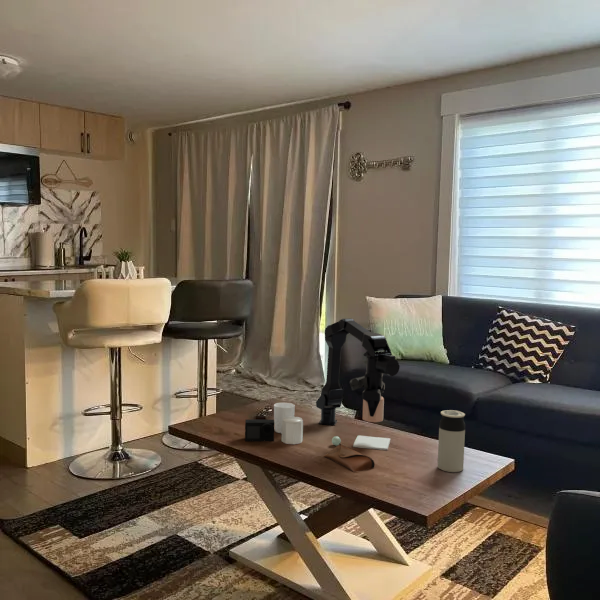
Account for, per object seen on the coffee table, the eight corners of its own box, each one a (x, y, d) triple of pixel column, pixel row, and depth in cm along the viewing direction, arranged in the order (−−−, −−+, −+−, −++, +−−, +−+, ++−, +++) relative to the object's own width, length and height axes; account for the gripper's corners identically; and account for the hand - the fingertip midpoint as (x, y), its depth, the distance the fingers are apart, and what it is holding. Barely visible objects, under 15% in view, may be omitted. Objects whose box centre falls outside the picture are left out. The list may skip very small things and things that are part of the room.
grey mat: (357, 437, 224) (357, 435, 224) (390, 440, 222) (390, 438, 222) (353, 446, 213) (353, 445, 213) (387, 450, 210) (387, 448, 210)
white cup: (285, 435, 224) (286, 408, 223) (269, 431, 229) (269, 405, 228) (298, 430, 231) (298, 404, 230) (282, 426, 235) (282, 401, 234)
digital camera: (244, 442, 215) (245, 423, 214) (244, 438, 220) (245, 419, 220) (274, 442, 216) (274, 423, 215) (273, 437, 221) (273, 419, 221)
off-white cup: (285, 437, 222) (285, 415, 221) (303, 439, 220) (304, 417, 220) (280, 443, 215) (280, 420, 214) (299, 444, 213) (299, 422, 213)
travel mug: (438, 472, 190) (441, 415, 189) (436, 463, 198) (438, 409, 197) (464, 473, 189) (467, 417, 188) (461, 465, 197) (464, 410, 196)
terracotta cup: (364, 415, 221) (364, 394, 220) (383, 417, 219) (384, 395, 219) (361, 421, 214) (362, 398, 213) (381, 422, 212) (382, 400, 212)
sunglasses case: (320, 455, 202) (328, 437, 204) (334, 463, 206) (342, 445, 208) (354, 472, 188) (363, 452, 189) (369, 480, 191) (377, 460, 193)
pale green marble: (332, 443, 216) (332, 434, 216) (341, 444, 215) (341, 435, 215) (330, 446, 213) (331, 437, 213) (339, 447, 212) (340, 438, 212)
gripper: (355, 364, 226) (354, 405, 227) (347, 373, 208) (346, 418, 209) (385, 366, 223) (384, 408, 225) (380, 376, 205) (378, 421, 207)
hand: (372, 413), depth 216 cm, fingers closed on terracotta cup, 7 cm apart
